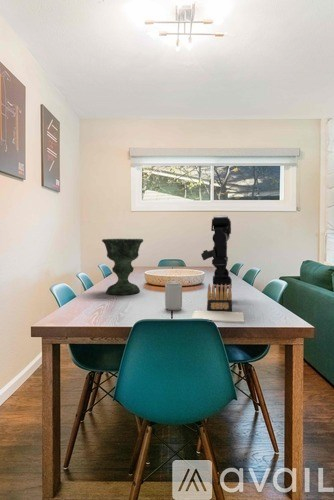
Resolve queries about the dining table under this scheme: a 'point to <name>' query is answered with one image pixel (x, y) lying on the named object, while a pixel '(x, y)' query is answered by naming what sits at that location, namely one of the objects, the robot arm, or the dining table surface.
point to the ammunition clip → (217, 303)
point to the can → (173, 295)
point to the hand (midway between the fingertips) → (220, 278)
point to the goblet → (122, 263)
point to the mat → (220, 316)
